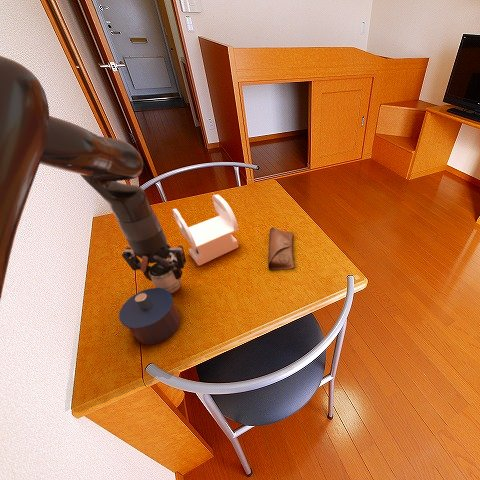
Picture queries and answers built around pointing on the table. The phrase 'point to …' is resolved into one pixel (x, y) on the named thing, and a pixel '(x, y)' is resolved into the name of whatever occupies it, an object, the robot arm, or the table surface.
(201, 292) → the table surface
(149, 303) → the pot lid
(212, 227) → the tape dispenser
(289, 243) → the sunglasses case
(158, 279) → the camera lens
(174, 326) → the pot
